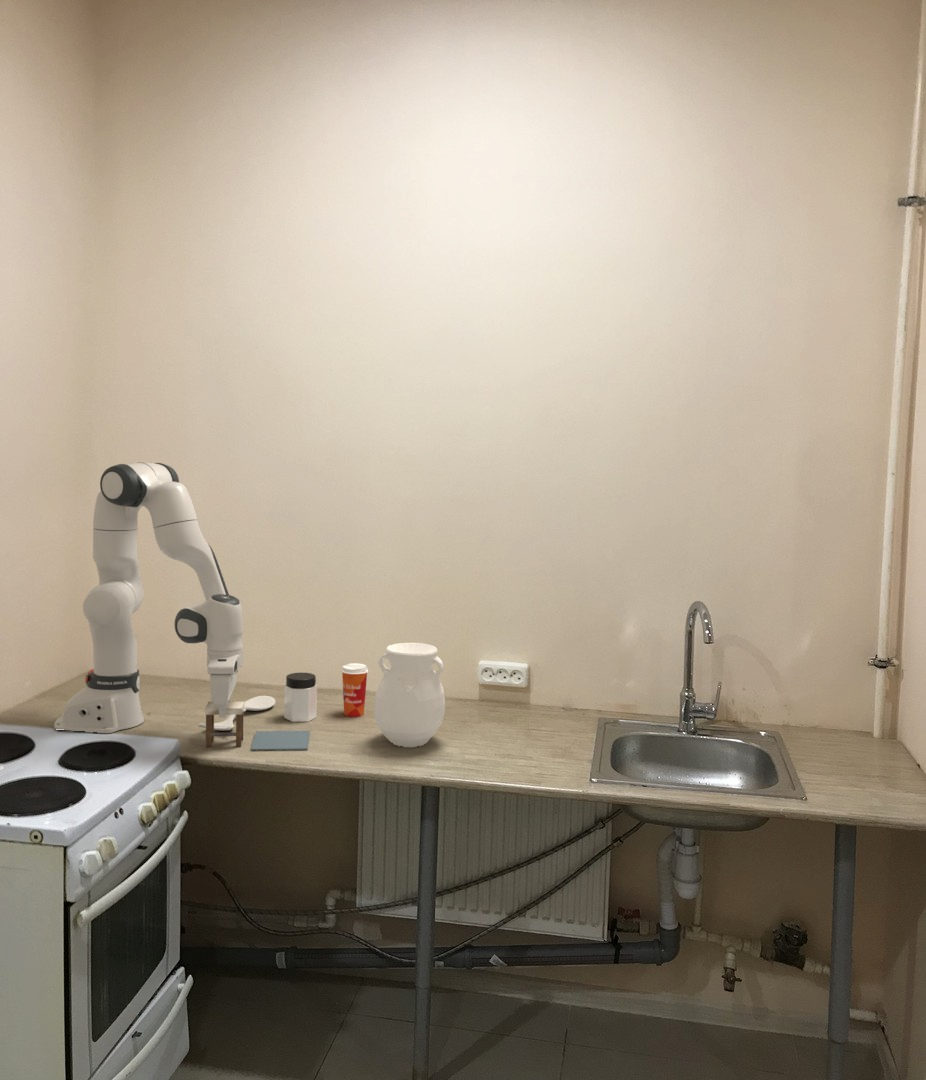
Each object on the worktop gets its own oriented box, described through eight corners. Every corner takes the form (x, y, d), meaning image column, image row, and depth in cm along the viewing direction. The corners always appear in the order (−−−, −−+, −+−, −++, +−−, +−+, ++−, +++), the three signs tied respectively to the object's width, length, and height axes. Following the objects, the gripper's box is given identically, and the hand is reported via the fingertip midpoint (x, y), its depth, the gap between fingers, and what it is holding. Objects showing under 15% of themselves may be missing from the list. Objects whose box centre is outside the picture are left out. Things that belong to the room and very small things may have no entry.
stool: (204, 747, 231) (205, 708, 230) (208, 739, 237) (208, 701, 236) (241, 746, 232) (241, 708, 231) (244, 738, 238) (244, 701, 237)
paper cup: (335, 715, 261) (335, 667, 260) (350, 708, 268) (351, 661, 266) (357, 719, 258) (358, 671, 256) (373, 712, 264) (374, 665, 263)
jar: (321, 719, 257) (322, 677, 256) (295, 724, 252) (296, 681, 251) (305, 711, 264) (305, 670, 263) (279, 716, 259) (280, 674, 257)
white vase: (452, 734, 247) (455, 643, 244) (432, 756, 230) (434, 659, 227) (387, 726, 252) (389, 637, 249) (362, 748, 235) (364, 652, 232)
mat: (250, 751, 230) (250, 749, 230) (256, 733, 244) (256, 731, 244) (307, 750, 232) (307, 748, 232) (309, 732, 245) (309, 730, 245)
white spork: (196, 735, 241) (196, 722, 241) (252, 702, 272) (252, 691, 272) (228, 739, 239) (228, 726, 239) (280, 705, 270) (281, 694, 270)
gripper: (218, 649, 242) (217, 700, 244) (206, 669, 222) (206, 724, 224) (242, 649, 243) (242, 700, 245) (233, 669, 223) (232, 724, 224)
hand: (224, 712), depth 234 cm, fingers closed on stool, 6 cm apart
